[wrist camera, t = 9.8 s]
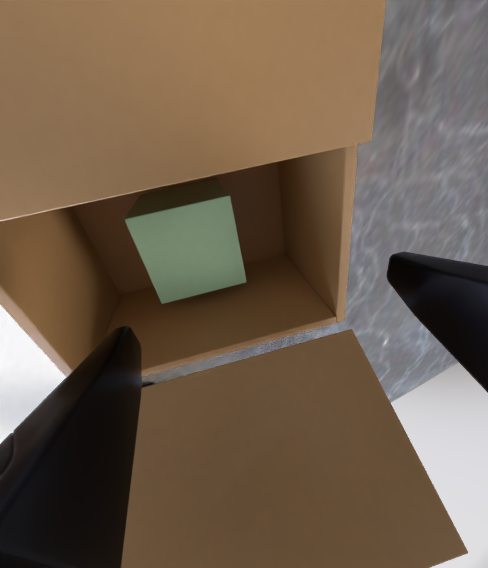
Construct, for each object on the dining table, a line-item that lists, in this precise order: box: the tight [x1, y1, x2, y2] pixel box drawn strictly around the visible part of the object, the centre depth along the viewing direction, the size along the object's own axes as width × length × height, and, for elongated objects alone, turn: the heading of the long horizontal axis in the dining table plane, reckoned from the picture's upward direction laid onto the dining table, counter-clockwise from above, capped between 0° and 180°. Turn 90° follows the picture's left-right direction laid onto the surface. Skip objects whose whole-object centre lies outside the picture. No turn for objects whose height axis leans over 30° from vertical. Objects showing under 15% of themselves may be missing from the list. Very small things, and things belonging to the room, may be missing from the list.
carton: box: [0, 0, 386, 377], centre depth 11 cm, size 17×14×9 cm
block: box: [124, 178, 247, 304], centre depth 15 cm, size 5×5×5 cm
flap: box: [121, 329, 468, 568], centre depth 10 cm, size 8×14×1 cm
